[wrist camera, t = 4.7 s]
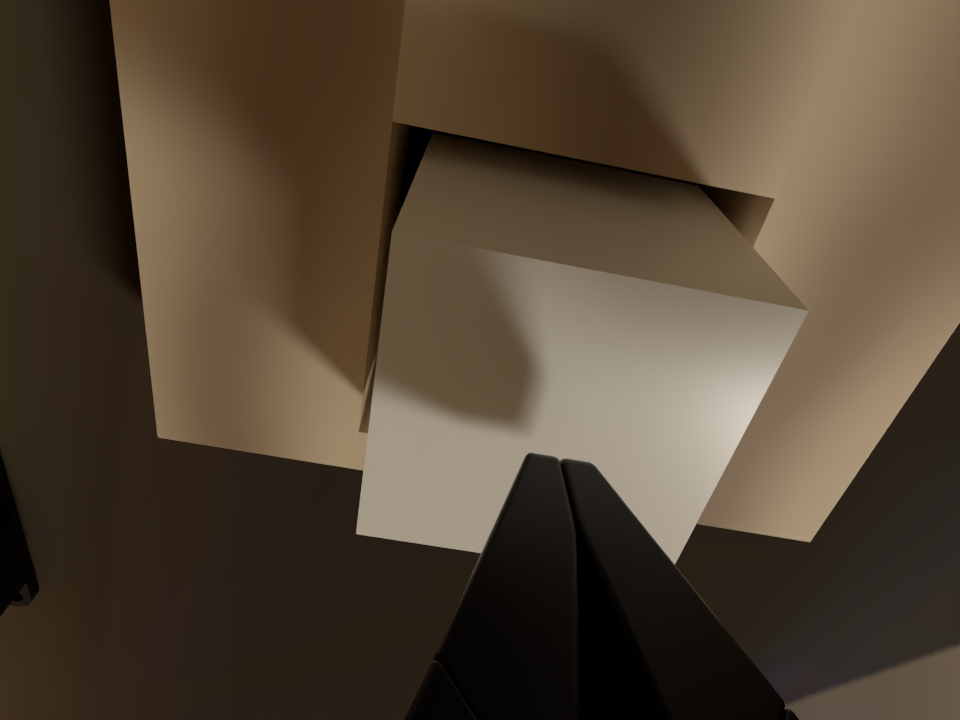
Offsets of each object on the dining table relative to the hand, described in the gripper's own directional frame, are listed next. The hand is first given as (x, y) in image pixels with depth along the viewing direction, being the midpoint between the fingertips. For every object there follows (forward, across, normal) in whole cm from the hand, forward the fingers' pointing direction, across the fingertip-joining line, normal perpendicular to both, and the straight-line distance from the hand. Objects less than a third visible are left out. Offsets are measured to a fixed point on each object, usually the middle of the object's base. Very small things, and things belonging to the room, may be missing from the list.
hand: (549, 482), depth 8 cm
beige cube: (+7, 0, 0) cm, 7 cm away
